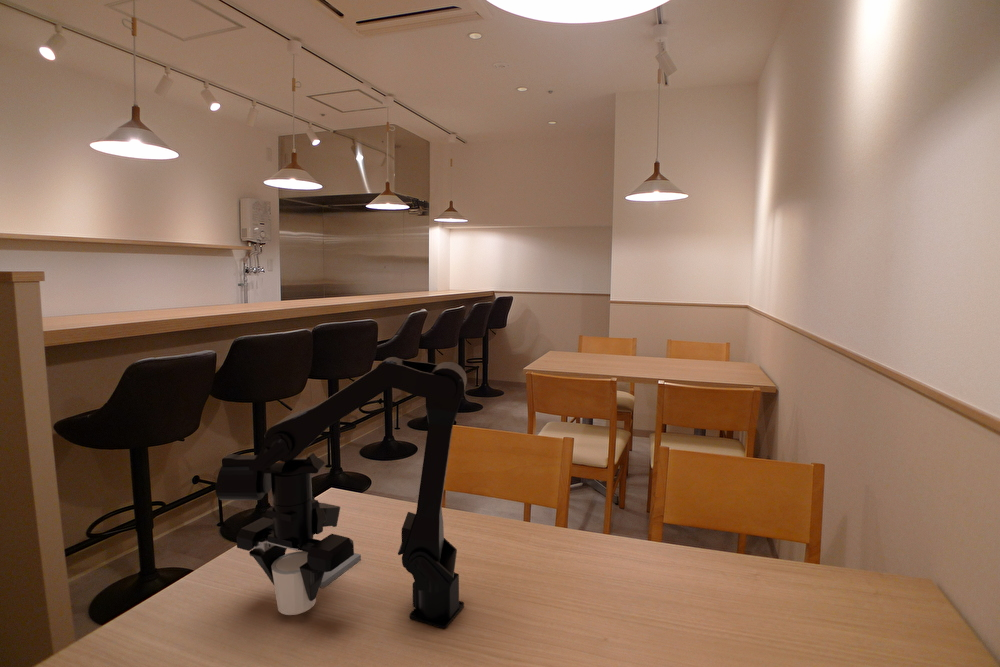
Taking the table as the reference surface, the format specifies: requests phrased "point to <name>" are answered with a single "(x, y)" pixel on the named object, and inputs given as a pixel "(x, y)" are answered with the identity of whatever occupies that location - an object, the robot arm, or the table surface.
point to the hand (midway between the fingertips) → (296, 594)
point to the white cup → (291, 584)
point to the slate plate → (339, 570)
